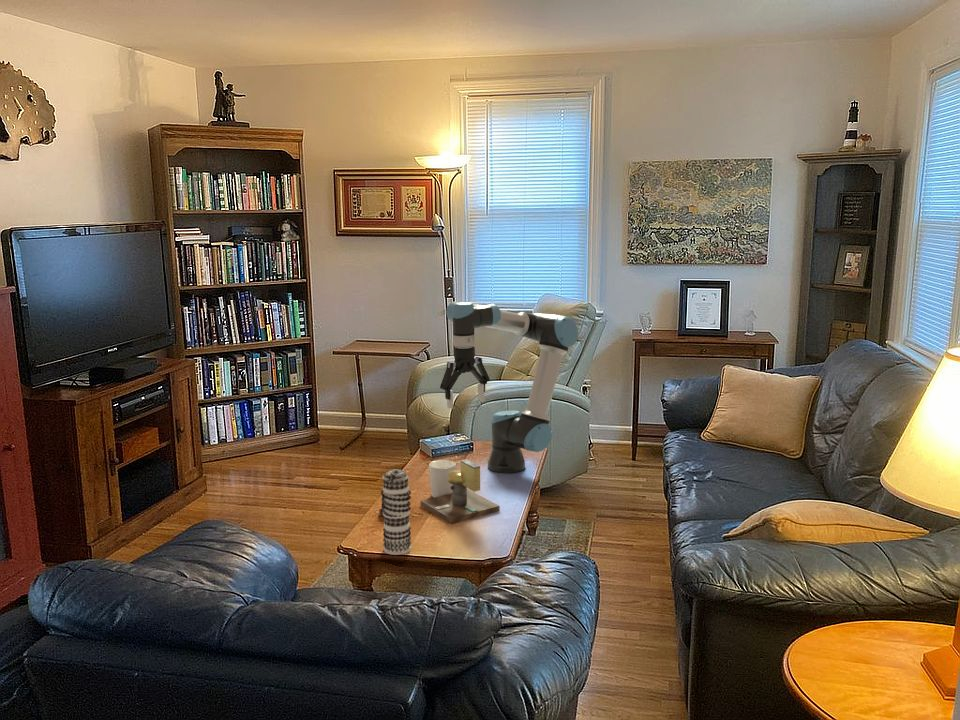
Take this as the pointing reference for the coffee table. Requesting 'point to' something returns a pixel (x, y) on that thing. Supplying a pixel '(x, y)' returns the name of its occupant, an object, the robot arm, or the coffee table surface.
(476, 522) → the coffee table surface
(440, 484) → the candle holder
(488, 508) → the post plinth
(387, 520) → the decorative candle
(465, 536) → the coffee table surface
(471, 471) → the cap
